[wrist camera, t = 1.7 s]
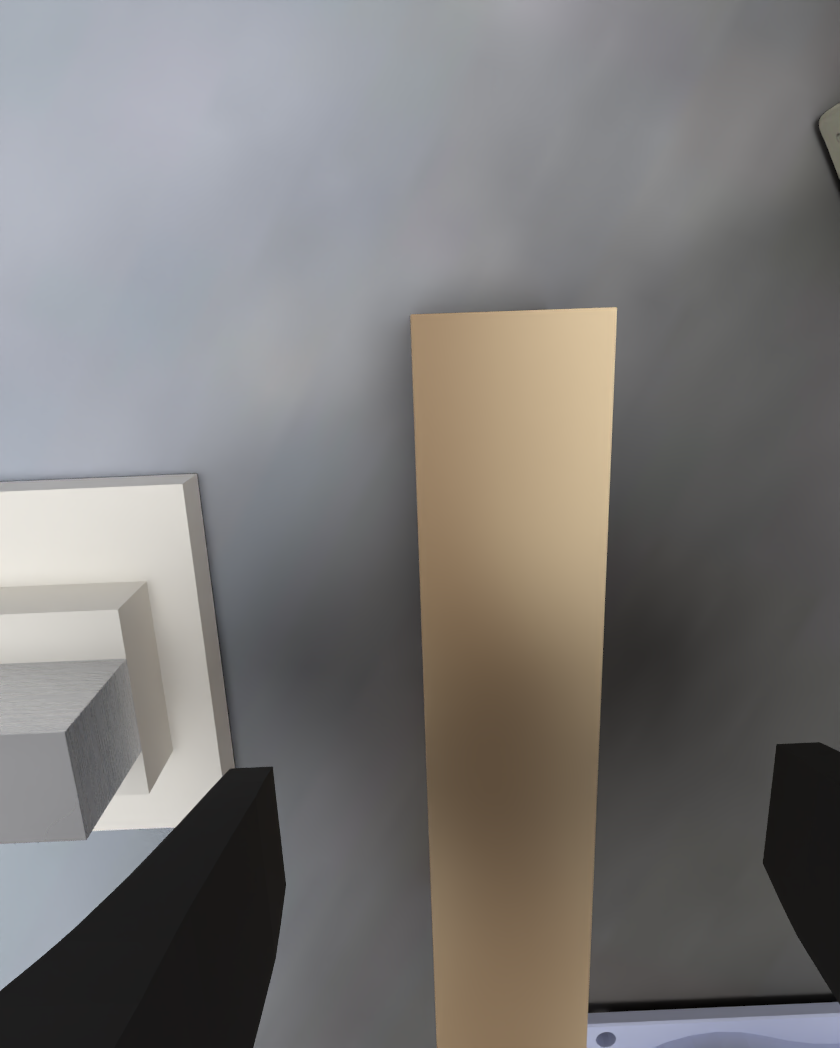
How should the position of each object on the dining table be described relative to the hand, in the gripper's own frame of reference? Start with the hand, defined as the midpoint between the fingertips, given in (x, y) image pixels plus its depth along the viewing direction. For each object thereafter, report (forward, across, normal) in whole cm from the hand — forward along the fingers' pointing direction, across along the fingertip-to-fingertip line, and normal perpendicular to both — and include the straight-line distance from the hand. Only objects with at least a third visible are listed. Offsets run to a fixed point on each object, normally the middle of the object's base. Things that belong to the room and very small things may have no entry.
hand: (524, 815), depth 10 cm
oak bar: (+6, 0, 0) cm, 7 cm away
